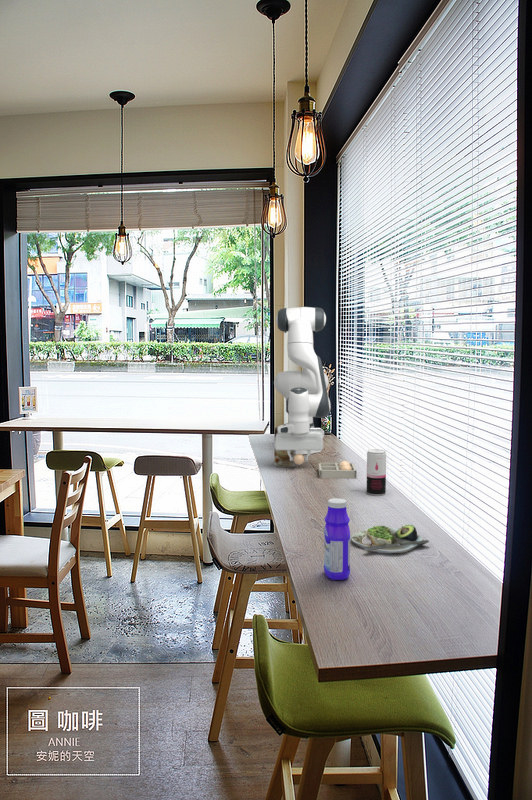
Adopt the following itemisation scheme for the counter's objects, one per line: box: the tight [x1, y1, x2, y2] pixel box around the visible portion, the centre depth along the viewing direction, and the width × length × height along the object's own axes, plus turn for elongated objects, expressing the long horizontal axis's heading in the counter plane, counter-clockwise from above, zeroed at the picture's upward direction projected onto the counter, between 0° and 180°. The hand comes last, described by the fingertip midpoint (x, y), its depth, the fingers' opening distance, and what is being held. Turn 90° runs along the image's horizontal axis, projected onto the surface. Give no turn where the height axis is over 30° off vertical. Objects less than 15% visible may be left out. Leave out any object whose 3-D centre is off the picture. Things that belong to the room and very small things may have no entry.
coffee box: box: [273, 426, 296, 468], centre depth 243 cm, size 9×6×16 cm
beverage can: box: [366, 449, 387, 496], centre depth 198 cm, size 7×6×15 cm
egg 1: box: [293, 454, 305, 466], centre depth 235 cm, size 5×5×5 cm
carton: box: [318, 462, 357, 480], centre depth 225 cm, size 14×14×4 cm
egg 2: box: [339, 460, 350, 466], centre depth 228 cm, size 5×5×5 cm
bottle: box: [323, 497, 351, 581], centre depth 128 cm, size 7×6×17 cm
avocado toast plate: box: [350, 524, 430, 554], centre depth 148 cm, size 19×18×5 cm
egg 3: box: [340, 464, 352, 470], centre depth 221 cm, size 5×5×5 cm
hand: (298, 460), depth 235 cm, fingers closed on egg 1, 5 cm apart
